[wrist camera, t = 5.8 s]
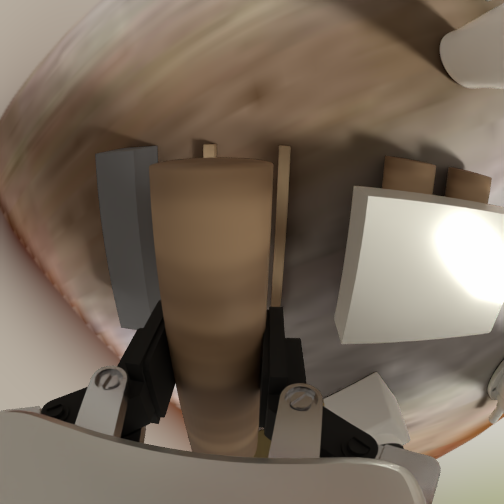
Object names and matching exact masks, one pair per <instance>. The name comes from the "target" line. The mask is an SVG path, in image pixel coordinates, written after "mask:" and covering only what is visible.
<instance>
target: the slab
mask: <svg viewBox="0 0 504 504" xmlns="http://www.w3.org/2000/svg"><path fill="white" fill-rule="evenodd" d="M503 301H504V207H501V206H496V205H491V204H485V203H480V202H474V201H468V200H463V199H456V198H450V197H444V196H437V195H430V194H423V193H415V192H408V191H400V190H391V189H382V188H373V187H363V186H354V188H353V198H352V207H351V215H350V224H349V231H348V239H347V246H346V253H345V259H344V266H343V272H342V278H341V284H340V290H339V295H338V301H337V306H336V311H335V316H334V321H335V324H336V328H337V331H338V334H339V338H340V341H341V344H369V343H391V342H407V341H421V340H433V339H443V338H453V337H462V336H470V335H478V334H485V333H490V332H491V330H492V327H493V325H494V323H495V321H496V318H497V316H498V314H499V311H500V309H501V306H502V304H503Z"/></svg>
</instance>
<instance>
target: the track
mask: <svg viewBox="0 0 504 504" xmlns="http://www.w3.org/2000/svg"><path fill="white" fill-rule="evenodd" d="M290 149H291V146H283V145H279V153H278V178H277V200H276V221H275V240H274V258H273V276H272V292H271V307H280V306H281V294H282V281H283V268H284V255H285V240H286V225H287V208H288V191H289V171H290ZM209 157H217V144H204V145H203V158H209ZM435 171H436V165H433V164H429V163H425V162H421V161H416V160H411V159H406V158H400V157H393V156H385V162H384V172H383V182H382V189H391V190H400V191H408V192H415V193H423V194H430V195H432V194H433V187H434V180H435ZM491 179H492V178H490V177H487V176H484V175H481V174H478V173H474V172H471V171H467V170H463V169H458V168H454V167H448V176H447V183H446V190H445V197H450V198H456V199H463V200H468V201H474V202H480V203H485V204H488V199H489V193H490V186H491Z"/></svg>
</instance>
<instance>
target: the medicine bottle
mask: <svg viewBox="0 0 504 504" xmlns="http://www.w3.org/2000/svg"><path fill="white" fill-rule="evenodd" d="M323 404H324V407H325V408H327V409H329V410H330V411H332V412H333V413H335V414H336V415H338V416H340V417H341V418H343V419H344V420H346V421H348V422H349V423H351V424H353V425H354V426H356V427H358V428H359V429H361V430H363V431H364V432H366V433H368V434H369V435H371V436H372V437H373V438H374V439H375V440H376V442H377V444H379V445H382V446H385V445H386V444H388V445H391V446H394V447H398V448H401V449H404V448H403V445H404V444H406V443H408V442H409V441H410V436H409V433H408V430H407V427H406V424H405V422H404V419H403V416H402V413H401V410H400V408H399V405H398V402H397V399H396V398H395V396H394V395H393V393H392V392H391V391H390V389H389V388H388V386H387V385H386V384H385V382H384V381H383V379H382V378H381V377H380V375H379V374H378V373H377V372H375V373H373V374H371V375H369V376H367V377H366V378H364V379H362V380H360V381H358V382H356V383H354V384H352V385H351V386H349V387H347V388H345V389H343V390H341V391H339V392H337V393H335V394H333V395H331V396H329V397H326V398H325V399H324V400H323Z"/></svg>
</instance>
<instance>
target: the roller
mask: <svg viewBox="0 0 504 504" xmlns="http://www.w3.org/2000/svg"><path fill="white" fill-rule="evenodd" d="M273 165H274V164H273V163H271V162H268V161H263V160H257V159H247V158H228V157H209V158H189V159H178V160H170V161H164V162H159V163H155V164H152V165H150V166H149V179H150V197H151V212H152V224H153V236H154V246H155V256H156V265H157V273H158V281H159V289H160V296H161V303H162V310H163V317H164V323H165V329H166V335H167V341H168V347H169V352H170V357H171V363H172V368H173V373H174V378H175V383H176V387H177V392H178V396H179V401H180V405H181V410H182V414H183V418H184V422H185V426H186V430H187V433H188V438H189V441H190V445H191V449H192V452H197V453H205V454H214V455H224V456H237V457H253V456H254V455H255V453H256V450H257V442H258V430H259V408H260V384H261V369H262V353H263V336H264V331H265V327H266V311H267V294H268V275H269V256H270V236H271V214H272V191H273Z"/></svg>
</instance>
